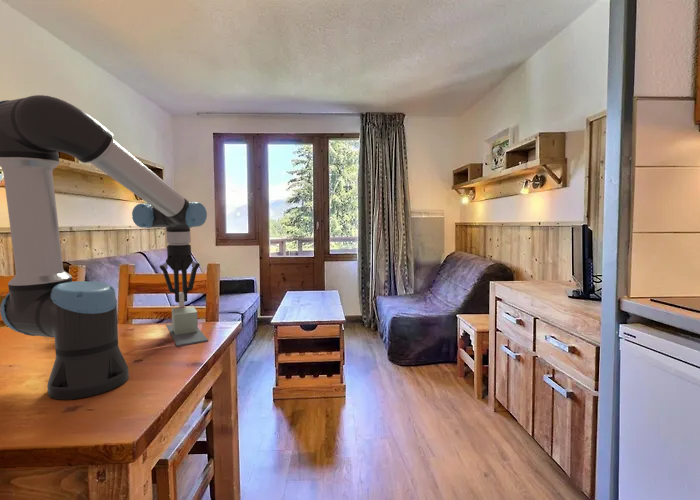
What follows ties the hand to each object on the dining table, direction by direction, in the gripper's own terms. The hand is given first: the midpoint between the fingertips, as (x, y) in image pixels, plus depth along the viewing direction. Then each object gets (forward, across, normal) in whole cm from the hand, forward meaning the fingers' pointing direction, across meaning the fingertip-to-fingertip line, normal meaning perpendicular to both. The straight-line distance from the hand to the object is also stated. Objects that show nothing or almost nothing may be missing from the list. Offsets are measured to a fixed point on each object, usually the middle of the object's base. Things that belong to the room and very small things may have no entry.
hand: (181, 311), depth 128 cm
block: (+2, 0, +1) cm, 2 cm away
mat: (+7, 0, +5) cm, 8 cm away
